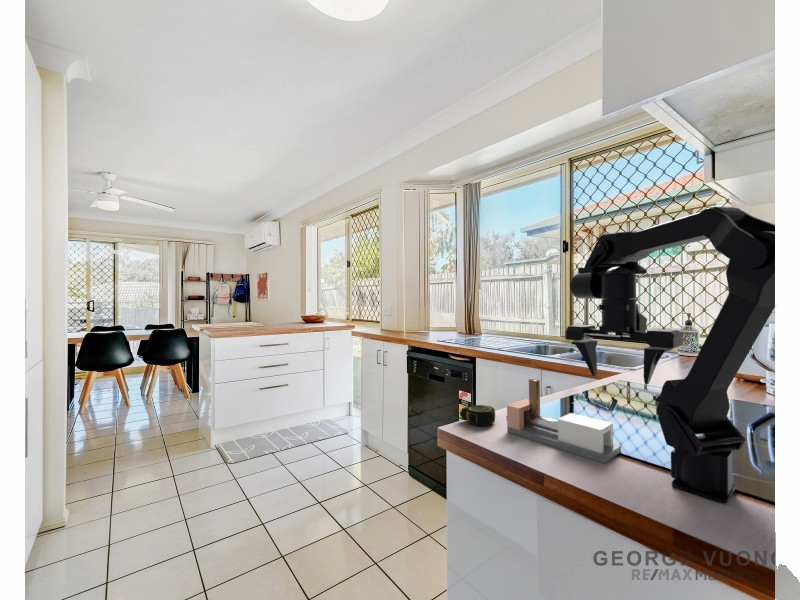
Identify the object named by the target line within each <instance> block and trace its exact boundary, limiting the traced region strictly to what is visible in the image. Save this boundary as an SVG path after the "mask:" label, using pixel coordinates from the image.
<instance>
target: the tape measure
mask: <svg viewBox="0 0 800 600" xmlns="http://www.w3.org/2000/svg"><path fill="white" fill-rule="evenodd" d="M460 410H461V411H459V415H460V417H461V419H462V421H466V420H467V421H466V422H468V423H469V424H471V425H474V426H475V425H476V426H489V425H492V424H494V423H495V422H496V411H495V408H494V407H493V406H491V405H483V404H482V405H481V404H478V405H477V404H476V405H471V406H466V407H462V408H461V409H460Z"/></svg>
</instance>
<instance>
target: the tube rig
mask: <svg viewBox="0 0 800 600" xmlns="http://www.w3.org/2000/svg"><path fill="white" fill-rule="evenodd" d="M524 412H527V413H529V399H527V398H525V399H522V400H518V401H515V402H513V403H510V404H507V405H506V420H507V423H506V424H507V425H506V427H507V433H511V434H513V435H516V436H519V437H522V438H526V439H528V440H532V441H534V442H537V443H541V444H545V445H546V446H550V447H553V448H556V449H559V450H562V451H565V452H568V453H572V454H575V455H578V456H580V457H584V458H587V459H589V460H593V461H596V462H599V463H602V464H606V463H608V462H609V461H610V460H612V459H614V457H616V456H618V455H619V454H620V453H622V445H620V444H616V443H614V423H613V422H609V421H605V420H601V419H597V418H593V417H589V416H585V415H580V414H576V413H573V412H569V413H568V414H565V415H563V416H561V417H559V418H557V421H558V433H555V432H552V431H549V430H545V429H542V428H538V427H535V426H531V425H528V424H525V423H524Z"/></svg>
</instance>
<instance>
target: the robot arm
mask: <svg viewBox="0 0 800 600" xmlns="http://www.w3.org/2000/svg"><path fill="white" fill-rule="evenodd" d="M775 225H776V224H774V223H771V222H769V221H767V220H763V219H761V218H758V217H755V216H753V215H751V214H750V213H748V212H746V211H743V210H742V209H740V208H738V207H735V206H732V207H731V206H729V207H728V206H727V207H726V206H711V207H707V208H705V209H703V210H701V211H699V212H696V213H692V214H689V215H685V216H682V217H679V218H675V219H673V220H670V221H666V222H663V223H659V224H657V225H653V226H650V227H647V228H644V229H640V230H635V231H623V232H622V231H620V232H610V233H603V234H601V235H600V236H599V237H598V238H597V241H596V243H595V245H594V247H593V248H592V250H591V252H590V255H589V257H588V259H587V260H586V261H585V265H584V266H583V267H582V266H581V267H578V269H577V273H576V274H574V276H572V278H571V282H570V285H569V287H570V292H571V294H572V295H573V296H574V297H576V298H577V299H583V300H584V299H585V300H586V299H589V300H590V299H592V300H593V299H594V300H597V299H601V304H598V310H599V311H601V325H598V326H599V327H598V328H599V329H597V328H596V326H595V324H594V325H592V324H591V325H589V324H573V325H568V326H567V327H566V329H565V332H564V339H565V341H571V345H574V346H576V347H577V349H578V351H579V353H580V354H581V357H583V360H584V362H585V363H586V365H587V368H588V369H589V372H590V374H591V376H592V377H597V373H598V364H597V363H598V362H597V361H598V360H597V346H598V339H600V340H601V339H602V340H614V341H615V340H616V341H617V340H618V341H627V342H642V343H646V344H647V345H649V346H648V347H644V348H643V382H644V385H649V384H650V382H651V380H652V377H653V375H654V372H655V370H656V367H657V365H658V362H659V361H660V359H661V358H662V356H663V355H664V353H668V352H670V351H672V350H673V349H676V348H679V347H681V346H683V335H682V332H680V330H678V329H670V328H653V329H649V330H647V323H648V318H647V317H646V316H645V315H644V314H642V313H641V312H640V307H639V303H637V275H645V274H647V270H646V269H645V268H644V267H642V266H640V265H639V264H638V263H637V262H639V261H641V260H644V259H646V258H647V257H649V255H650V254H653V253H655V252H659V251H662V250H665V249H671V248H675V247H679V246H684V245H687V244H692V243H697V242H700V241H705V240H709V241H710V243H711V245H712V246H713V247H714V249H715V250H716V251H717V252H718V253H719V254H721V255H723V256H725V257H726V258H728V260H729V261H728V263H727V267H726V270H725V271H726V272H725V275H726V281H727V287H728V294H727V296H726V299H725V301H723V302H724V303H723V305H722V307H721V309H720V310H719V312H718V314H717V317H716V318H715V320H714V322H713V324H712V326H711V328H710V330H709V332H708V334H707V336H706V338H705V340H704V342H703V343H702V346H701V347H700V349H699V352H698V353H697V356H696V358H695V359H694V361H693V364H692V366H691V368H690V370H689V372H688V374H687V375H686V376H685V378H681V379H670V380H665V382H664V383H663V385H662V389H661V392H660V394H659V396H657V397H656V398H655V399H654V401H655V402H658V403H657V404H656V407H655V413H656V415H657V418H658V421H659V424H660V428H661V430H662V434H663V438H664V441H665V444H666V445H667V446H669V447H671V448H673V450H671V452H670V476H671V478H672V479H673V480H672V481H671V486H672V487H673V488H677V489H679V490H683V491H686V492H688V493H692V494H696V495H698V496H701V497H703V498H707V499H711V500H713V501H716V502H720V503H723V504H727V503H729V500H730V499H731V498H732V496H733V493H734V492H735V490H736V485H735V484H733V451H741V450H742V448H743V446H744V445H745V442H746V438H745V436H744V435H743V434H742V433H741V432H740V431H739V430H738V428H737V427H736V426H735V424H734V423H733V422H732V421H731V420H730V418H729V417H728V415H729V411H730V407H731V405H730V400H729V395H728V390H729V388H730V385H731V384H732V382H733V381H734V378H735V377H736V375H737V373H738V371H740V369H741V367H742V365H743V364H744V362H745V360H746V358H747V356H748V355H749V353H750V351H751V349H752V347H753V346H754V345H755V342H756V340H757V339H758V337H759V335H760V333H762V330H763V329H764V327H765V325H766V323H767V321H768V320H769V319H770V317H771V315H772V314H773V311H774V310H775V308H776V306H775ZM609 332H610V334H609ZM611 333H614V334H611ZM699 434H702V435H699ZM703 434H704V435H703ZM697 435H698V436H697Z"/></svg>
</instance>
